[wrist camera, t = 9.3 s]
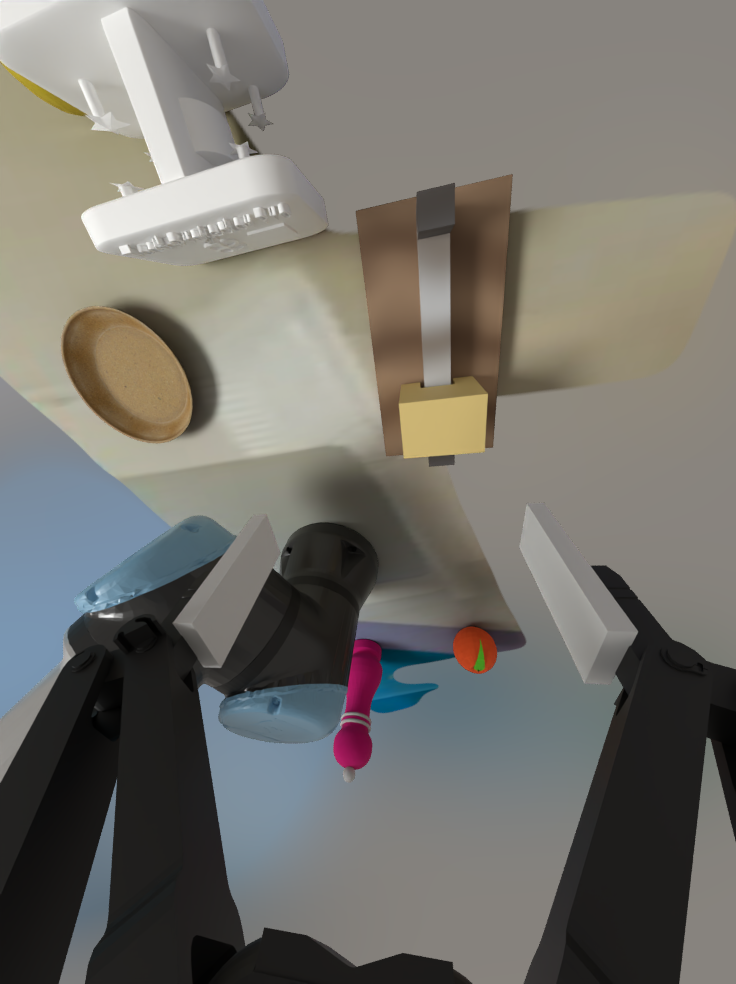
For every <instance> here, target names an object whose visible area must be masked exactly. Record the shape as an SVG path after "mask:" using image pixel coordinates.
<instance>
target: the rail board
mask: <svg viewBox="0 0 736 984" xmlns="http://www.w3.org/2000/svg"><path fill="white" fill-rule="evenodd" d="M512 176H513V175H512V174H511V175H507V176H502V177H499V178H494V179H490V180H486V181H481V182H477V183H473V184H468V185H464V186H460V187H456V188H455V183H453V184H448V185H444V186H440V187H436V188H431V189H427V190H423V191H419V192H417V197H413V198H409V199H404V200H400V201H396V202H392V203H387V204H384V205H379V206H375V207H370V208H366V209H362V210H358V211H356V217H357V225H358V234H359V242H360V250H361V258H362V266H363V274H364V282H365V290H366V298H367V306H368V314H369V322H370V330H371V338H372V346H373V354H374V362H375V370H376V378H377V386H378V394H379V402H380V410H381V418H382V426H383V434H384V442H385V450H386V456H394V455H403V444H402V434H401V423H400V412H399V398H400V391H401V385H403V384H411V383H419V382H420V387H421V388H426V387H434V386H442V385H450V384H453V378H459V377H468V376H473V377H474V378H475V379H476V381H477V382H478V383H479V384H480V385H481V386H482V387H483V389H484V390H485V391H486V392H487V393H488V401H487V418H486V436H485V448H492V447H493V439H494V426H495V411H496V398H497V385H498V371H499V357H500V343H501V329H502V315H503V302H504V288H505V274H506V260H507V246H508V232H509V218H510V205H511V191H512ZM428 459H429V467H430V466H444V465H454V455H442V456H430V457H428Z"/></svg>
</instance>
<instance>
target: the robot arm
mask: <svg viewBox="0 0 736 984" xmlns="http://www.w3.org/2000/svg"><path fill="white" fill-rule="evenodd" d="M519 548H520V550H521V553H522V554H523V556H524V558H525V561H526V563H527V565H528V567H529V569H530V571H531V573H532V575H533V577H534V579H535V582H536V584H537V586H538V588H539V590H540V592H541V594H542V596H543V598H544V600H545V602H546V604H547V607H548V608H549V610H550V613H551V615H552V617H553V619H554V621H555V623H556V625H557V627H558V629H559V631H560V633H561V635H562V637H563V640H564V642H565V644H566V646H567V648H568V650H569V652H570V654H571V656H572V658H573V661H574V663H575V665H576V667H577V669H578V671H579V673H580V675H581V677H582V679H583V681H584V683H585V684H608V685H610V684H611V682H612V680H613V679H614V677H615V675H617V677H618V679H619V681H620V682H621V684H622V686H623V689H622V691H621V693H620V694H619V696H618V698H617V700H616V701H615V703H614V705H616V709H615V712H614V715H613V718H612V721H611V724H610V727H609V731H608V734H607V737H606V740H605V743H604V746H603V749H602V752H601V755H600V758H599V762H598V765H597V768H596V771H595V774H594V777H593V780H592V783H591V787H590V790H589V793H588V796H587V799H586V802H585V805H584V809H583V812H582V815H581V818H580V821H579V824H578V827H577V830H576V833H575V836H574V839H573V843H572V846H571V849H570V852H569V855H568V858H567V862H566V865H565V867H564V871H563V874H562V877H561V880H560V883H559V886H558V889H557V892H556V896H555V899H554V902H553V905H552V908H551V911H550V914H549V917H548V920H547V924H546V927H545V930H544V933H543V936H542V939H541V941H540V944H539V947H538V949H537V951H536V953H535V955H534V958H533V960H532V962H531V965H530V967H529V970H528V973H527V976H526V979H525V982H524V984H679V980H680V971H681V962H682V953H683V943H684V935H685V926H686V916H687V908H688V899H689V890H690V881H691V872H692V863H693V853H694V845H695V836H696V827H697V818H698V809H699V800H700V791H701V782H702V773H703V764H704V755H705V746H706V737H707V738H710V739H711V742H712V746H713V750H714V755H715V759H716V763H717V767H718V770H719V775H720V779H721V783H722V787H723V791H724V795H725V800H726V804H727V808H728V811H729V816H730V820H731V824H732V828H733V832H734V836H735V841H736V669H732V668H729V667H725V666H721V665H718V664H714V663H711V662H708V661H706V660H705V659H704V658H703V657H702V656H701V655H699V654H698V653H697V652H696V651H695V650H693V649H691V648H689V647H688V646H686V645H684V644H682V643H680V642H677V641H674V640H672V639H671V638H670V637H669V635H668V634H667V633H666V632H665V630H664V629H663V628H662V627H661V626H660V624H659V623H658V622H657V621H656V619H655V618H654V617H653V616H652V614H651V613H650V612H649V611H648V610H647V608H646V607H645V606H644V605H643V603H642V602H641V601H640V600H638V597H637V596H636V595H635V593H634V592H633V591H632V590H630V587H629V586H628V585H627V584H626V583H625V581H624V580H623V579H622V577H621V576H620V575H618V574H617V573H616V572H614V571H613V570H611V569H610V568H608V567H607V566H590V565H589V563H588V562H587V561H586V559H585V558H584V556H583V555H582V554H581V552H580V551H579V549H578V548H577V547H576V545H575V544H574V543H573V541H572V540H571V539H570V537H569V536H568V534H567V533H566V532H565V530H564V529H563V527H562V526H561V525H560V523H559V522H558V521H557V519H556V518H555V517H554V515H553V514H552V512H551V511H550V510H549V508H548V507H547V506H546V504H545V503H527V506H526V511H525V518H524V523H523V529H522V535H521V541H520V546H519ZM279 555H280V550H279V548H278V545H277V542H276V539H275V536H274V534H273V531H272V528H271V525H270V522H269V520H268V517H267V514H262V515H253V516H252V517H251V519H250V520H249V521H248V523H247V524H246V525H245V527H244V528H243V529H242V531H241V532H240V534H239V535H238V536H236V535H233V534H231V533H230V532H229V531H227V530H226V529H225V528H223V527H222V526H221V525H219V524H218V523H217V522H216V521H214V520H213V519H211V518H209V517H206V516H192V517H189V518H187V519H185V520H183V521H182V522H180V523H178V524H177V525H175V526H174V527H172V528H171V529H169V530H168V531H166V532H165V533H163V534H162V535H160V536H159V537H157V538H156V539H154V540H153V541H152V542H150V543H149V544H147V545H146V546H144V547H143V548H141V549H140V550H138V551H137V552H136V553H134V554H133V555H131V556H130V557H129V558H127V559H126V560H124V561H123V562H122V563H120V564H119V565H117V566H116V567H115V568H114V569H112V570H111V571H110V572H108V573H107V574H105V575H104V576H102V577H101V578H100V579H98V580H97V581H95V582H94V583H92V584H91V585H90V586H88V587H87V588H86V589H85V590H83V591H82V592H81V593H80V594H78V595H77V596H76V598H75V600H74V603H75V604H76V605H77V606H78V610H79V611H80V612H81V613H85V614H83V616H81V617H80V618H79V619H78V620H77V621H76V622H75V623H74V624H72V625H71V626H70V627H69V628H68V629H67V630H66V632H65V634H64V638H63V655H64V656H63V659H62V661H61V662H60V663H59V664H58V665H57V666H56V667H55V668H54V669H52V670H51V671H50V672H49V673H48V674H47V675H46V676H45V677H44V678H43V679H42V680H41V681H40V682H39V683H38V684H37V685H36V686H34V688H32V689H31V690H30V691H29V692H28V693H27V694H26V695H25V696H24V697H23V698H22V699H21V700H20V701H19V702H18V703H17V704H16V705H14V706H13V707H12V708H11V709H10V710H9V711H8V712H7V713H6V714H5V715H4V716H3V717H2V718H1V719H0V984H59V980H60V976H61V973H62V969H63V966H64V962H65V959H66V955H67V952H68V948H69V945H70V941H71V938H72V934H73V931H74V927H75V924H76V920H77V917H78V913H79V909H80V906H81V903H82V899H83V896H84V892H85V889H86V885H87V882H88V878H89V875H90V871H91V868H92V864H93V860H94V857H95V853H96V850H97V846H98V843H99V839H100V836H101V832H102V829H103V825H104V822H105V818H106V815H107V811H108V808H109V804H110V801H111V797H112V794H113V790H114V787H115V783H116V780H117V792H116V806H115V822H114V837H113V853H112V869H111V884H110V899H109V915H108V923H107V928H106V931H105V934H104V936H103V937H102V938H101V940H100V941H99V943H98V944H97V945H96V947H95V948H94V950H93V953H92V955H91V958H90V961H89V964H88V969H87V975H86V981H85V984H472V983H471V982H470V981H469V980H468V979H467V978H466V977H464V976H463V975H461V974H460V973H459V972H457V971H456V970H454V969H453V962H449V961H443V960H438V959H432V958H426V957H422V956H416V955H411V954H405V953H402V954H398V955H395V956H392V957H388V958H385V959H382V960H379V961H375V962H372V963H368V964H365V965H362V966H358V967H356V966H355V965H353V964H352V963H351V962H349V961H348V960H347V959H345V958H344V957H342V956H341V955H340V954H338V953H337V952H336V951H334V950H333V949H332V948H330V947H329V946H327V945H325V944H323V943H321V942H319V941H317V940H315V939H313V938H311V937H309V936H307V935H302V934H296V933H291V932H286V931H280V930H275V929H270V928H264V931H263V935H262V938H259V939H257V940H255V941H254V942H252V943H250V944H248V945H247V946H245V941H244V936H243V930H242V925H241V920H240V916H239V913H238V910H237V907H236V905H235V902H234V900H233V898H232V896H231V893H230V890H229V885H228V880H227V875H226V867H225V861H224V854H223V848H222V841H221V835H220V828H219V822H218V816H217V809H216V803H215V796H214V790H213V783H212V777H211V771H210V764H209V758H208V751H207V745H206V738H205V732H204V725H203V719H202V713H201V706H200V700H199V693H198V688H199V687H200V686H201V685H202V684H207V685H209V686H211V687H213V688H215V689H216V690H218V691H219V692H221V693H223V694H224V695H225V699H224V700H223V701H222V702H221V704H220V712H219V716H218V717H219V721H220V723H221V724H223V726H224V727H225V728H226V729H228V730H229V731H231V732H233V733H235V734H238V735H241V736H244V737H248V738H251V739H256V740H260V741H266V742H274V743H308V742H313V741H317V740H320V739H323V738H325V737H327V736H328V735H330V734H331V733H332V732H333V731H334V730H335V728H336V727H337V725H338V723H339V721H340V717H341V712H342V708H343V703H344V699H345V695H346V694H347V692H348V683H349V676H350V669H351V663H352V656H353V649H354V643H355V636H356V630H357V623H358V617H359V611H360V609H361V607H362V606H363V604H364V602H365V601H366V599H367V597H368V596H369V594H370V592H371V590H372V589H373V587H374V585H375V582H376V579H377V573H378V558H377V555H376V552H375V550H374V549H373V547H372V546H371V544H370V543H369V542H368V541H367V540H366V539H365V538H364V537H362V536H361V535H360V534H358V533H357V532H355V531H353V530H351V529H349V528H346V527H344V526H340V525H336V524H329V523H317V524H311V525H307V526H304V527H302V528H300V529H298V530H297V531H296V532H294V533H293V534H292V535H291V536H290V538H289V539H288V541H287V543H286V545H285V547H284V549H283V551H282V555H281V561H280V574H279V573H277V572H276V571H275V570H274V569H273V566H274V564H275V562H276V560H277V558H278V557H279Z"/></svg>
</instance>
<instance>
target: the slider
mask: <svg viewBox="0 0 736 984" xmlns="http://www.w3.org/2000/svg"><path fill="white" fill-rule="evenodd" d="M487 401H488V393H487V392H486V391H485V390H484V389H483V387H482V386H481V385H480V384H479V383H478V382H477V381H476V379H475V378H474V377H473V376H468V377H459V378H453V384H450V385H442V386H434V387H426V388H421V387H420V382H419V383H411V384H403V385H401V391H400V398H399V412H400V423H401V434H402V444H403V455H404V459H405V458H417V457H430V456H442V455H455V454H466V453H467V454H468V453H480V452H485V436H486V418H487Z"/></svg>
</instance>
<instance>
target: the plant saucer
mask: <svg viewBox="0 0 736 984" xmlns="http://www.w3.org/2000/svg"><path fill="white" fill-rule="evenodd" d="M61 353H62V359H63V363H64V366H65V368H66V372H67V374H68V376H69V379H70V380H71V382H72V384H73V386H74V388H75V389H76V391H77V392H78V394H79V395H80V397H81V398H82V400H83V401H84V402H85V403H86V405H87V406H88V407H89V408H90V409H91V410H92V411H93V412H94V413H95V414H96V415H97V416H98V417H99V418H100V419H101V420H103V421H104V422H105V423H107V424H108V425H109V426H111V427H112V428H114V429H115V430H117V431H118V432H120V433H122V434H124V435H126V436H128V437H130V438H133V439H136V440H138V441H142V442H147V443H164V442H169V441H171V440H174V439H175V438H177V437H178V436H180V435H181V434H182V433H183V432H184V431H185V430H186V428H187V427H188V425H189V423H190V420H191V416H192V408H193V404H192V393H191V388H190V384H189V381H188V378H187V376H186V373H185V371H184V369H183V367H182V365H181V364H180V362H179V360H178V359H177V357H176V356H175V354H174V353H173V352H172V350H171V349H170V348H169V347H168V346H167V344H166V343H165V342H164V341H163V340H162V339H161V338H160V337H159V336H158V335H157V334H156V333H155V332H154V331H153V330H151V329H150V328H149V327H148V326H146V325H145V324H144V323H142V322H141V321H139V320H138V319H136V318H134V317H133V316H131V315H129V314H127V313H124V312H122V311H120V310H117V309H114V308H109V307H104V306H90V307H86V308H83V309H80V310H78V311H77V312H75V313H74V314H73V315H71V317H69V319H68V320H67V321H66V323H65V325H64V328H63V331H62V336H61Z"/></svg>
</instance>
